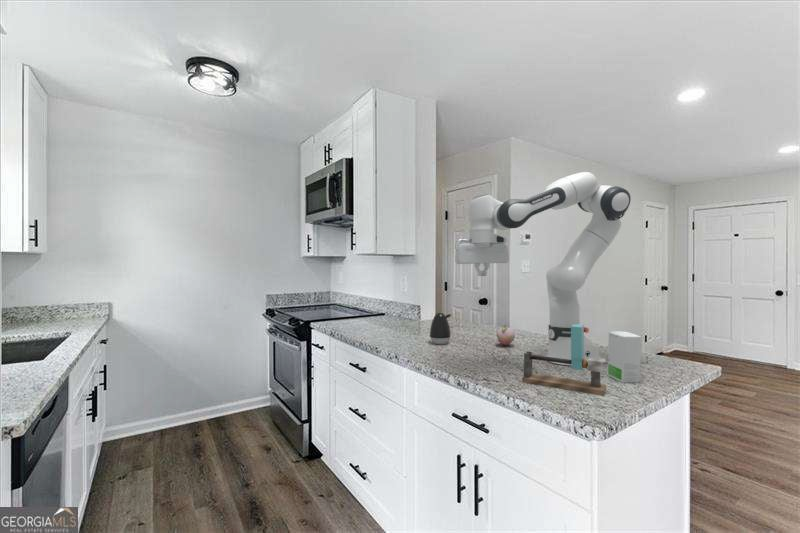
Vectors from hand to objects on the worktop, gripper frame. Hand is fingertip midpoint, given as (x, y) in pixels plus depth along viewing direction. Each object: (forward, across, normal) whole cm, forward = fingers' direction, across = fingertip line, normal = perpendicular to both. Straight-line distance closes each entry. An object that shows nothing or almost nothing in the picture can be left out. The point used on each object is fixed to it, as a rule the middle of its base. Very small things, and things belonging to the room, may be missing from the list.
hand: (482, 275), depth 143 cm
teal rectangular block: (+29, +20, -27) cm, 44 cm away
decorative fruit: (+35, +26, +32) cm, 54 cm away
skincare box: (+36, +41, -23) cm, 59 cm away
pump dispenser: (+35, -2, +45) cm, 57 cm away
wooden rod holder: (+35, +17, -24) cm, 46 cm away
